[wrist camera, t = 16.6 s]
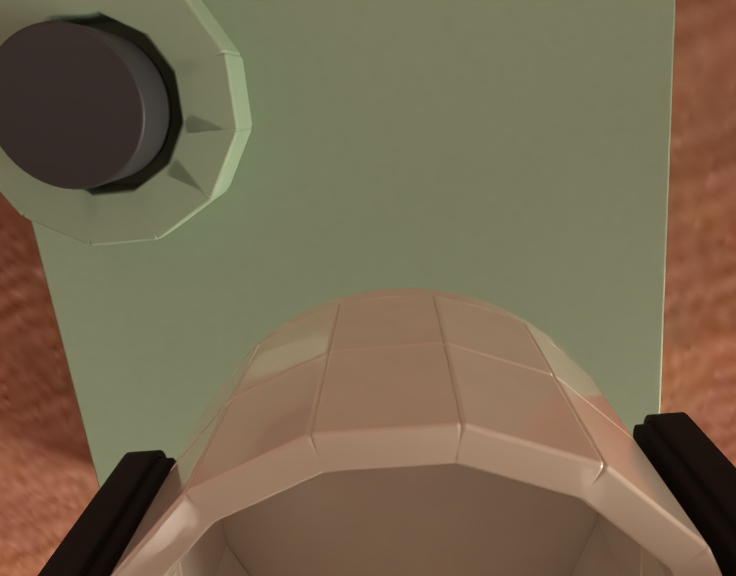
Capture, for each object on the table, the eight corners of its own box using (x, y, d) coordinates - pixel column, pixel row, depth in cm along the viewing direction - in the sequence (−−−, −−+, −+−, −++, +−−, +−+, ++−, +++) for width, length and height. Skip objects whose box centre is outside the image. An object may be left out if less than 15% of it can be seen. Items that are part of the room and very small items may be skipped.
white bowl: (236, 653, 13) (158, 941, 8) (165, 306, 11) (13, 456, 6) (610, 633, 12) (730, 927, 8) (616, 267, 10) (784, 400, 6)
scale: (119, 476, 20) (75, 540, 17) (0, -10, 16) (-84, -32, 13) (640, 439, 19) (684, 500, 16) (655, -87, 15) (717, -127, 12)
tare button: (49, 184, 15) (6, 197, 13) (13, 36, 14) (-38, 30, 12) (184, 171, 15) (159, 182, 13) (157, 21, 14) (125, 11, 12)
